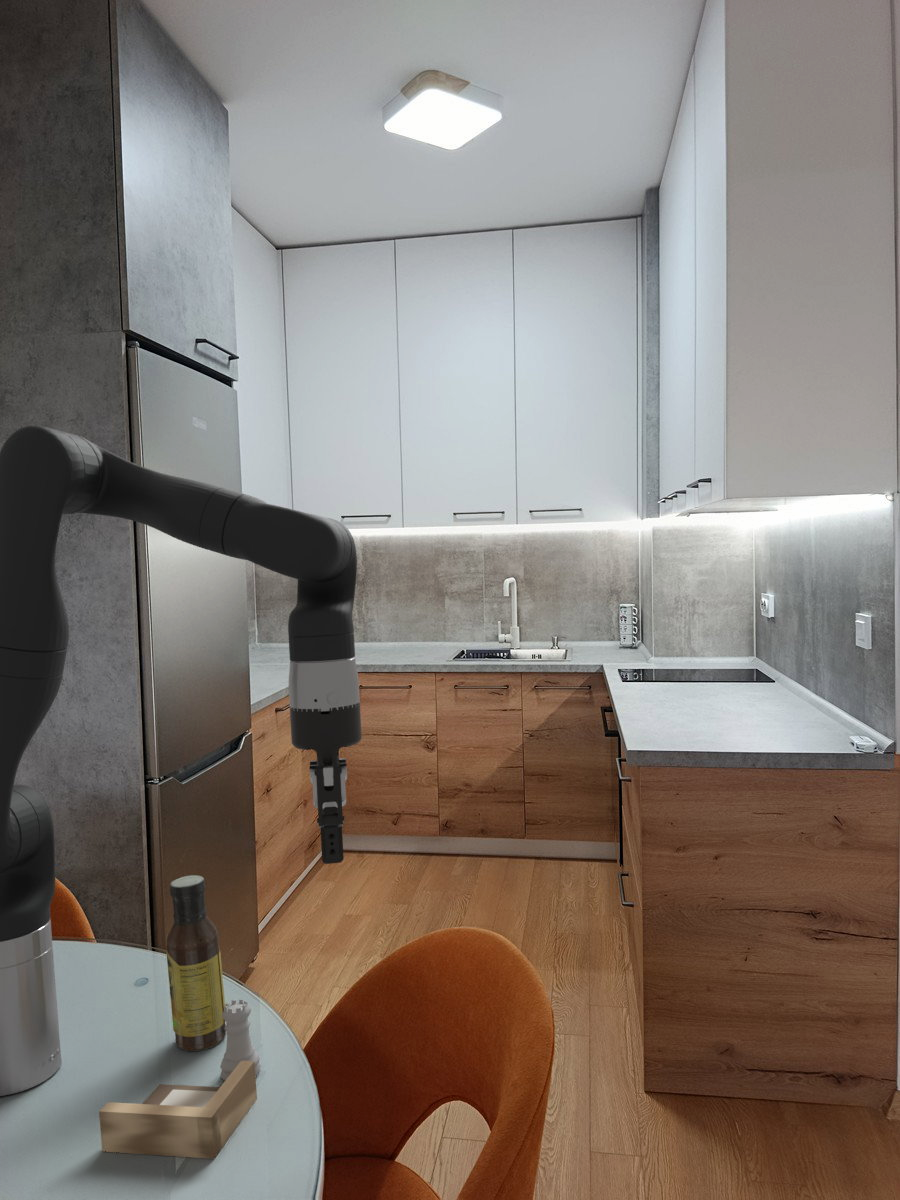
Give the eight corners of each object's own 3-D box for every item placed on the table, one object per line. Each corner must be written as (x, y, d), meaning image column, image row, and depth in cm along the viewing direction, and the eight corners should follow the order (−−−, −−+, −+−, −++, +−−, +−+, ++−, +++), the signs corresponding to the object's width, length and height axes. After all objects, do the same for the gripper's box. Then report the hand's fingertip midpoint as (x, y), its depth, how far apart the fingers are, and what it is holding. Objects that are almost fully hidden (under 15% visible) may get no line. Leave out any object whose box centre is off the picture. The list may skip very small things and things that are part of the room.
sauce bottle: (188, 1027, 109) (177, 870, 108) (235, 1027, 108) (223, 869, 107) (164, 1054, 102) (151, 888, 102) (213, 1055, 101) (200, 887, 101)
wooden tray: (102, 1151, 85) (99, 1111, 84) (159, 1087, 95) (157, 1051, 95) (214, 1158, 82) (211, 1117, 82) (260, 1092, 93) (258, 1055, 93)
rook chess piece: (220, 1089, 94) (215, 1017, 94) (220, 1068, 98) (215, 999, 98) (262, 1080, 95) (257, 1009, 95) (260, 1060, 99) (255, 991, 99)
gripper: (291, 695, 99) (299, 834, 99) (286, 712, 85) (295, 875, 85) (357, 691, 100) (364, 829, 100) (362, 707, 86) (370, 867, 86)
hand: (332, 849), depth 93 cm, fingers open, 8 cm apart
